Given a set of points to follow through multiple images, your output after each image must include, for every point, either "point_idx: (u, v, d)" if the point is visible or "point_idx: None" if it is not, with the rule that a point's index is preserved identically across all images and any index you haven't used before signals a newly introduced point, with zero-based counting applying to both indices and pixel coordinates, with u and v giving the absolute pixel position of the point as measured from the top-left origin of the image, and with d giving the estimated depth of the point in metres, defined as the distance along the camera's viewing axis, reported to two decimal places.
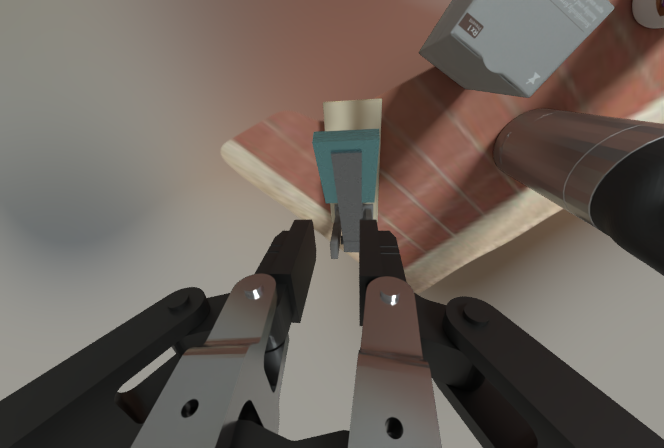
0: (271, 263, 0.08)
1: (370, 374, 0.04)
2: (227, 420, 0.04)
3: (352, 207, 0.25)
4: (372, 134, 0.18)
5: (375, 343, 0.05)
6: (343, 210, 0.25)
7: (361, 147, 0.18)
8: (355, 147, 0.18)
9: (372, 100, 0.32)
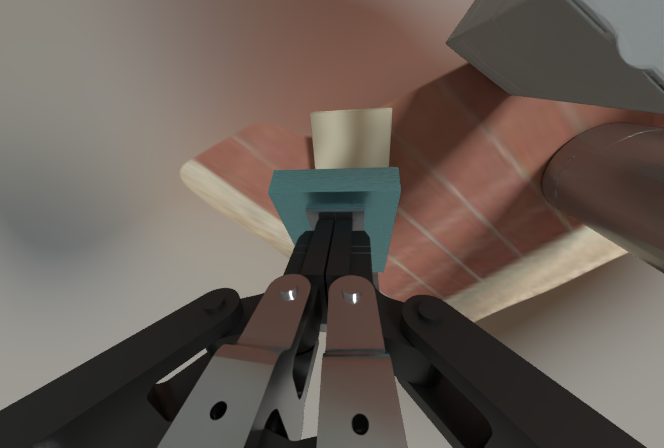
0: (299, 263, 0.08)
1: (335, 375, 0.04)
2: (227, 420, 0.04)
3: None
4: (385, 179, 0.09)
5: (328, 340, 0.05)
6: None
7: (363, 202, 0.09)
8: (352, 202, 0.09)
9: (378, 110, 0.23)
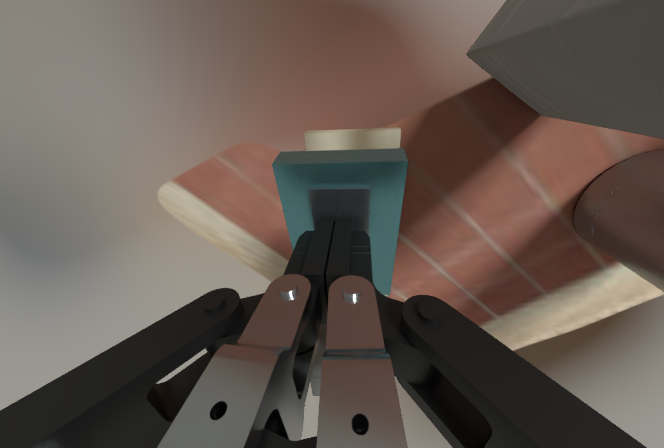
0: (299, 263, 0.08)
1: (335, 375, 0.04)
2: (227, 420, 0.04)
3: None
4: (391, 154, 0.09)
5: (328, 340, 0.05)
6: None
7: (369, 178, 0.09)
8: (358, 178, 0.09)
9: (385, 131, 0.19)
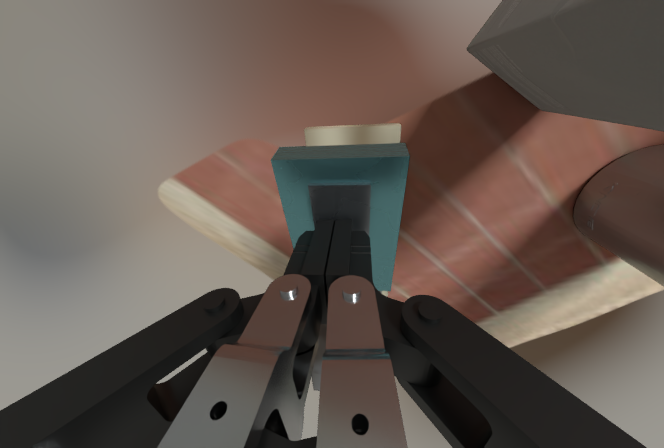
0: (299, 263, 0.08)
1: (334, 375, 0.04)
2: (227, 420, 0.04)
3: None
4: (392, 149, 0.09)
5: (327, 340, 0.05)
6: None
7: (370, 174, 0.09)
8: (358, 174, 0.09)
9: (385, 127, 0.19)
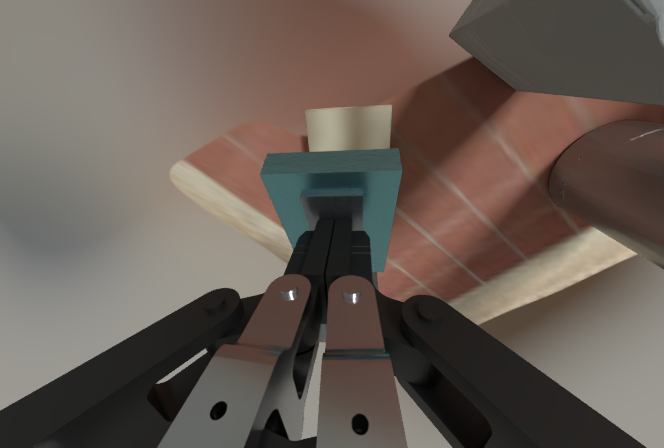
0: (299, 263, 0.08)
1: (334, 375, 0.04)
2: (227, 420, 0.04)
3: None
4: (385, 159, 0.08)
5: (327, 340, 0.05)
6: None
7: (362, 185, 0.09)
8: (350, 185, 0.09)
9: (377, 107, 0.22)
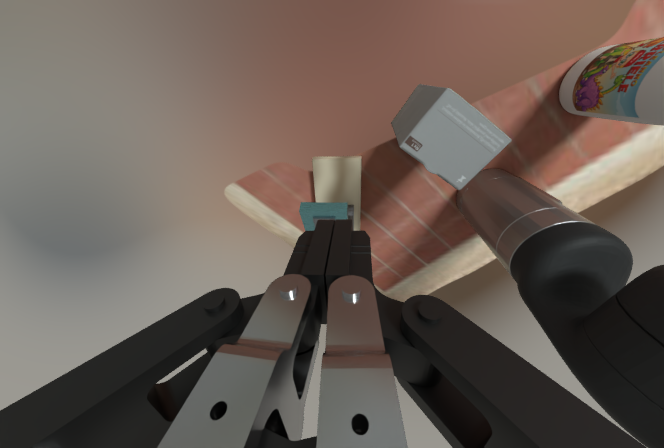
0: (299, 263, 0.08)
1: (334, 375, 0.04)
2: (227, 420, 0.04)
3: None
4: (342, 207, 0.25)
5: (327, 340, 0.05)
6: None
7: (334, 215, 0.25)
8: (330, 215, 0.25)
9: (353, 159, 0.38)
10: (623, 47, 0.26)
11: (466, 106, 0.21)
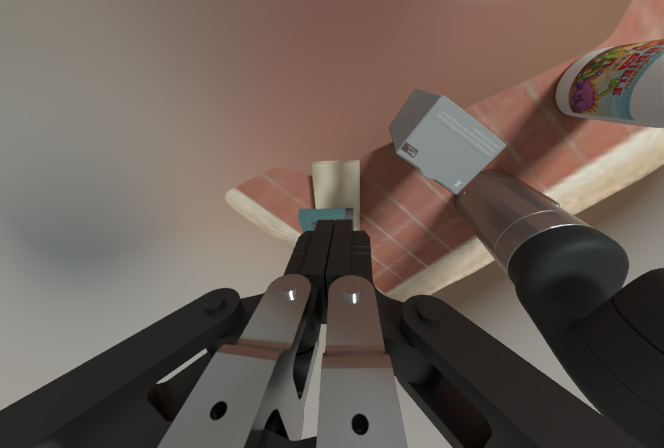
0: (299, 263, 0.08)
1: (334, 375, 0.04)
2: (227, 420, 0.04)
3: None
4: (340, 213, 0.25)
5: (327, 340, 0.05)
6: None
7: None
8: None
9: (352, 163, 0.39)
10: (617, 50, 0.26)
11: (460, 112, 0.21)
